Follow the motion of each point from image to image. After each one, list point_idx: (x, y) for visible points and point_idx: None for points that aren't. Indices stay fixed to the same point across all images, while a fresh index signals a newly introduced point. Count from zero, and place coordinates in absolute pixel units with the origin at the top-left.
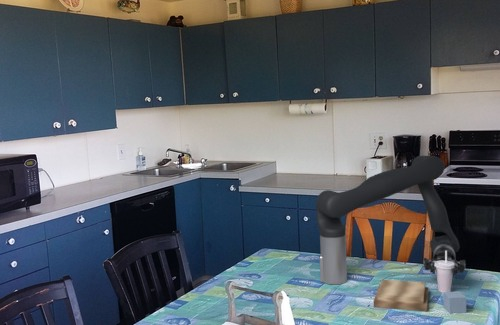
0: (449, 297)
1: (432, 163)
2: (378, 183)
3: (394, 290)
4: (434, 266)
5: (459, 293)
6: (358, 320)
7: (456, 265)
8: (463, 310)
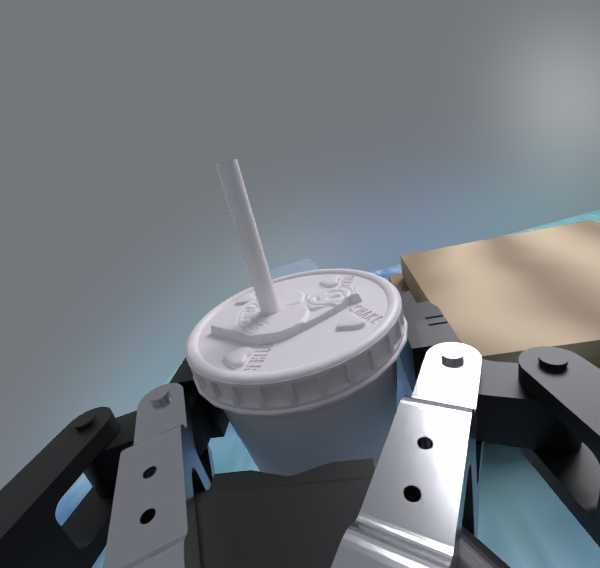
0: (307, 260)
1: None
2: None
3: (553, 250)
4: None
5: None
6: (549, 223)
7: (164, 386)
8: None
